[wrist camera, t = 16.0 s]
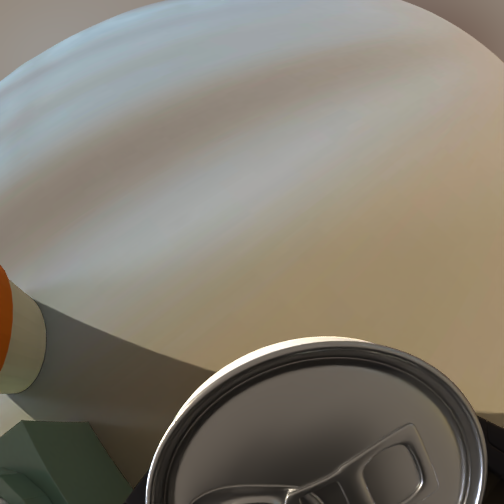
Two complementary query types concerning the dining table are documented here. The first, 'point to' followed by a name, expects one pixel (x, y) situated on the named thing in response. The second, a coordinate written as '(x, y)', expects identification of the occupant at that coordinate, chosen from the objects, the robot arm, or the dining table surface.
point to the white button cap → (2, 501)
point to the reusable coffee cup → (19, 338)
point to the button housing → (58, 466)
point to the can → (323, 431)
